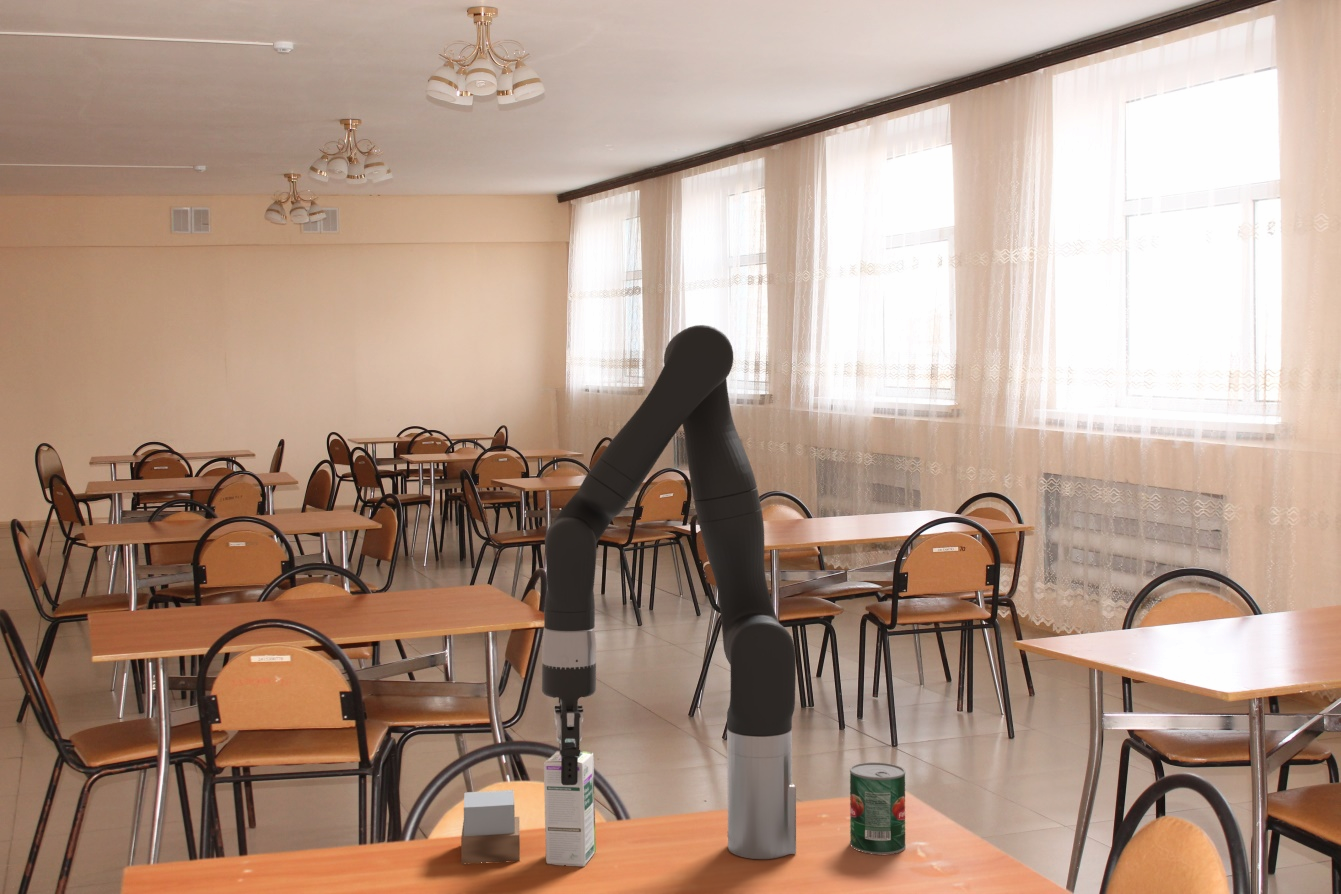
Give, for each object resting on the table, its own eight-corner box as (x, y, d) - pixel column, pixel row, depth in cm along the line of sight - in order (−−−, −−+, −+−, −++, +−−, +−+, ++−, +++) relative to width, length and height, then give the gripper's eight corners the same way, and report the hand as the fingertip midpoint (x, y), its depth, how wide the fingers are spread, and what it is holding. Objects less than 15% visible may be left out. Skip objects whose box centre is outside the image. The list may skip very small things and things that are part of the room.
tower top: (513, 817, 174) (513, 789, 173) (514, 833, 167) (514, 804, 167) (464, 820, 172) (464, 792, 172) (463, 836, 166) (463, 807, 165)
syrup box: (585, 867, 163) (584, 762, 163) (544, 864, 165) (543, 760, 164) (596, 852, 169) (595, 751, 169) (556, 850, 170) (555, 749, 170)
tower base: (519, 843, 174) (519, 816, 174) (519, 863, 166) (519, 835, 166) (464, 846, 173) (463, 819, 173) (461, 866, 165) (461, 838, 165)
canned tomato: (841, 839, 174) (840, 764, 174) (890, 834, 176) (889, 759, 176) (864, 858, 166) (864, 779, 166) (915, 852, 168) (915, 774, 168)
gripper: (599, 669, 160) (598, 790, 160) (593, 650, 174) (592, 761, 174) (542, 670, 159) (541, 791, 159) (541, 650, 173) (540, 762, 173)
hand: (568, 775), depth 167 cm, fingers open, 8 cm apart
